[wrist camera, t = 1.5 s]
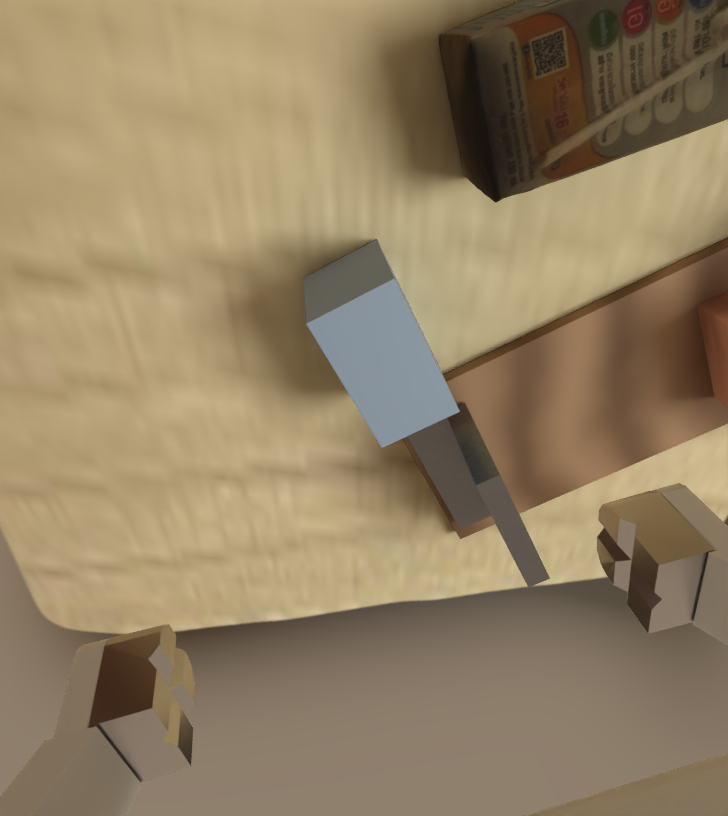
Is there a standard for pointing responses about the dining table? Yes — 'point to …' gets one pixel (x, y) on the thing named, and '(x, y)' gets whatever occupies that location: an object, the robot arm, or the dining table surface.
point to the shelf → (602, 384)
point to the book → (376, 345)
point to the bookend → (475, 485)
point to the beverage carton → (580, 85)
